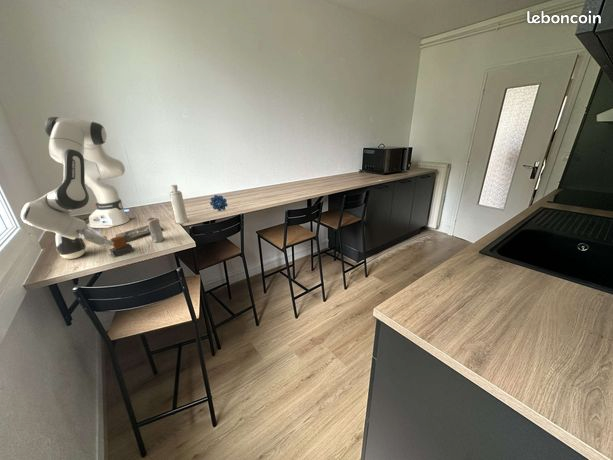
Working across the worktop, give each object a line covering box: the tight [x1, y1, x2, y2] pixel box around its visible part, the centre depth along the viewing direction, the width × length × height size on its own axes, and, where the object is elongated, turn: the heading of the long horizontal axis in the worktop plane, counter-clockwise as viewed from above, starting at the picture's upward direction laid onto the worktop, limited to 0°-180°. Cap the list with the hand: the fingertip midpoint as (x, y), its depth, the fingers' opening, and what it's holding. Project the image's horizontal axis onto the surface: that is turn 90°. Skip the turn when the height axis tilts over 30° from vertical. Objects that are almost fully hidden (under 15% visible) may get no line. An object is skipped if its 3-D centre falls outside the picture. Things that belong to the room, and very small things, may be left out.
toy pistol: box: [115, 224, 164, 243], centre depth 143 cm, size 20×12×2 cm, turn 143°
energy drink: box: [146, 217, 165, 243], centre depth 132 cm, size 5×5×12 cm
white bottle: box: [169, 184, 189, 224], centre depth 155 cm, size 7×7×25 cm
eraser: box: [109, 236, 134, 258], centre depth 121 cm, size 8×4×8 cm, turn 143°
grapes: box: [209, 194, 228, 212], centre depth 174 cm, size 12×7×12 cm, turn 122°
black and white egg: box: [54, 233, 87, 260], centre depth 117 cm, size 10×10×15 cm
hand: (109, 241), depth 117 cm, fingers open, 8 cm apart
